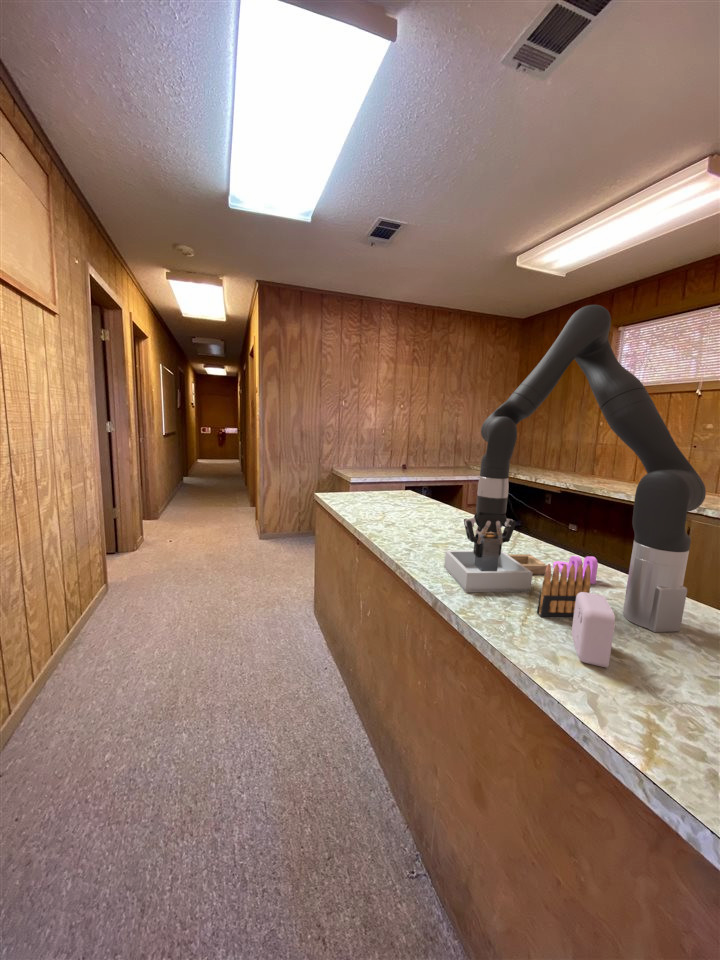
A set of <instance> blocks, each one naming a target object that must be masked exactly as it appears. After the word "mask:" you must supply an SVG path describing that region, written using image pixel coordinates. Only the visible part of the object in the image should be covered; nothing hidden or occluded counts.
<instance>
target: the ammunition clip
mask: <svg viewBox="0 0 720 960" xmlns="http://www.w3.org/2000/svg"><path fill="white" fill-rule="evenodd" d="M546 565H547V567H546V571H545V574H544V576H543V581H542V584H541V585H542V586H541V591H540V593H539V599H538V603H537V611H536V614H538V616H539V617H540V618H543V619H544V618H545V619H546V618H548V619H551V618H552V619H557V618H558V619H573V617H574V609H575V602H576V596H577V594H578V593H580V592H586V593H591V585H592V584H590V576H591V569H590V565H589V564H588V566H587V567H586V570H585V573H584V578H583V565H581V564H580V566H579V567H578V570H577V575H576V579H575V567H574V564H572V566H571V568H570V571H569V576H568V578H567V566H566V564H564V566H563V568H562V571H561V573H560V572H559V566H558V564H556V566H555V568H553V571H552V567H551V564H550V563H548V564H546ZM582 580H583V581H582Z"/></svg>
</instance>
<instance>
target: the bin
mask: <svg viewBox="0 0 720 960" xmlns="http://www.w3.org/2000/svg"><path fill="white" fill-rule="evenodd" d="M473 551H474V550H445V552H444V567H443V568H445V569H444V570H446V571H447V572H448V573H449V575H450V577H452V579H454V581H455V582H456V583H457V584H458V586H459V587H460V588H461V589H462V590H463V591H464V593H503V592H505V593H506V592H507V593H508V592H512V593H513V592H517V593H518V592H531V589H532V579H533V574H532V573H533V572H531V571H530V570H528V569H527V568H526V567H524V566H523V565H521V564H520V563H519V562H517V561H516V560H514V559H513V558H512V557H510V556H509V555H507V553H506V552H504V551H503V550H501V554H500V555H499V557H498V567H497V571H480V570H479V569H478V568H477V567H476V566H475V565H474V564H475V554H474V552H473Z"/></svg>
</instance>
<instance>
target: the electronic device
mask: <svg viewBox="0 0 720 960" xmlns="http://www.w3.org/2000/svg"><path fill="white" fill-rule="evenodd" d="M615 623H616V617H615V613H614V610H612V607H611V606H610V604H609V602H608V600H607V598H606V597H605V595H603V594H596V593H592V592H590V593H586V592H580V593H578V594H577V596H576V602H575V609H574V617H573V618H572V627H571V637H572V641H573V645H574V648H575V650H576V653H577V654H576V655H577V657H578V659H579V661H581V662H582V663H585V664H588V665H593V666H597V667H602V668H606V669H608V668H609V665H610V659H611V652H612V644H613V640H614V638H613V637H614V633H615V632H614V631H615V628H616V627H615V626H616V624H615Z"/></svg>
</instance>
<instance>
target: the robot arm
mask: <svg viewBox="0 0 720 960" xmlns="http://www.w3.org/2000/svg"><path fill="white" fill-rule="evenodd" d="M611 320H612V317H611V313H610V312H609V310H608V309H607V308H606V307H605V306H602V305H599V304H589V305H585V306H582V307H581V308H579V309H578V310H576V311H575V312H573V314H572V315H571V316H570V317H569V319H568V320H567V322H566V323H565V325H564V327H563V329H562V330H561V331H560V333H559V335H558V336H557V338H556V339H555V340H554V342H553V343H552V345H551V346H550V348H548V350H547V352H546V353H545V355H544V356H543V357H542V359H541V360H540V361H539V362H538V363H537V365H536V366H535V367H534V368H533V370H531V372H530V373H529V374H528V375H527V376H526V378H525V379H524V380H523V381H522V382H521V383H520V384H519V386H518V387H516V389H515V390H514V391H513V392H512V393H511V395H510V396H509V397H508V398H507V400H506V401H505V402H503V403H502V404H501V405H500V406H498V407H497V408H496V409H495V410H494V411H493V412H492V413H491V414H490V415H489V416H488V417H487V418H486V419H485V420H484V422H483V423H482V426H481V428H480V435H481V438H482V439H483V440H484V441H485V442H487V446H486V452H485V454H484V455H483V456H482V457H481V462H480V470H479V473H480V474H479V479H478V483H477V495H476V504H475V505H476V506H475V514H474V516H473V517H472V518H464V519H463V523H464V528H465V533H466V538H467V540H469V541H470V542H471V543H473V550H472V551H473V552H474V554H475V556H476V557H477V558H480V557H481V548H482V545H481V543H482V539H483V538H484V537H485V535H486V533H488V532H493V533H495V535H496V536H497V538H500V548H499V555H500V554H501V551H502V545H503V544H504V543H509V542H510V540H511V538H512V536H513V533H514V530H515V528H516V525H517V521H516V520H513V519H512V518H507V516H506V514H507V508H508V507H507V505H508V497H509V486H510V485H509V476H510V463H511V459H512V457H513V453H514V450H515V447H516V443H517V438H518V437H517V436H518V430H517V429H518V428H517V425H518V424H520V422H521V421H522V420H526V419H527V418H529V417H530V416H531V415H533V414H534V413H535V412H536V410H537V409H538V408H539V407H540V406H541V405H542V404H543V402H545V400H546V399H547V398H548V397H549V395H551V393H552V392H553V390H554V389H555V387H556V386H557V384H558V383H559V381H560V379H561V378H562V376H563V375H564V373H565V372H566V371H567V369H568V367H569V366H570V365H571V364H572V362H573V361H575V362H576V364H577V365H578V366H579V368H580V369H581V371H582V372H583V374H584V375H585V377H586V379H587V381H588V385H589V388H591V391H592V394H593V396H594V398H595V400H596V402H597V405H598V407H599V408H600V411H601V412H602V414H603V417H604V419H605V421H606V422H607V423H606V424H608V426H609V427H610V429H611V430H612V432H613V433H615V435H616V436H617V437H618V438H620V440H621V442H623V443H624V444H625V445H626V446H627V447H629V448H630V450H631V451H632V452H633V453H634V454H635V455H636V456H637V457H638V459H639V460H640V461H641V464H642V465H643V468H644V470H645V471H646V474H645V475H644V476H642V477H641V479H640V480H639V482H638V484H637V486H636V490H635V495H634V501H633V502H634V503H633V511H632V513H633V514H632V528H633V531H634V532H633V533H634V536H633V537H634V539H633V544H632V552H631V557H630V562H629V569H628V577H627V583H626V590H625V595H624V603H623V609H622V615H623V617H624V618H626V620H628V621H629V622H631V623H633V624H635V625H637V626H640V627H642V628H645V629H648V630H650V631H651V632H654V633H663V632H664V633H665V632H680V631H681V626H682V622H683V615H684V610H685V605H686V599H687V594H688V588H687V587H686V586H684V581H685V577H686V576H685V575H686V572H687V571H686V569H687V564H688V559H689V553H690V548H691V540H692V539H691V536H690V535H689V534H688V533H687V532H686V522H687V515H688V512H692V511H694V510H697V509H698V508H700V506H702V504H703V503H704V502H705V499H706V496H707V491H706V485H705V483H704V481H703V479H702V478H701V476H700V474H698V473H697V471H696V470H695V468H694V467H693V466H692V464H691V463H690V462H689V460H688V459H687V458H686V457H685V455H684V454H683V453H682V451H681V450H680V447H678V445H677V444H676V441H674V438H673V436H672V435H671V432H670V430H669V429H668V426H667V425H666V423H665V421H664V420H663V418H662V415H661V414H660V413H659V411H658V409H657V406H656V405H655V403H654V401H653V399H652V398H651V396H650V393H649V392H648V390H647V389H646V387H645V385H644V384H643V383H642V381H641V380H640V379H639V378H638V377H636V375H634V374H633V373H631V371H629V370H627V369H626V368H625V367H624V366H623V365H622V364H621V363H620V361H619V360H618V359H617V357H616V355H615V353H614V351H613V349H612V346H611V344H610V341H609V334H610V330H611V325H612V321H611ZM475 524H476V525H477V527H476V529H475V532H474V528H473V527H474V526H475ZM503 526H505V527H504V529H503V531H502V528H503Z"/></svg>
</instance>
